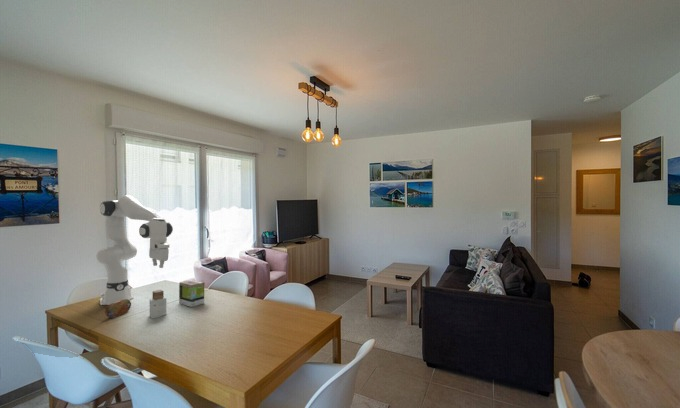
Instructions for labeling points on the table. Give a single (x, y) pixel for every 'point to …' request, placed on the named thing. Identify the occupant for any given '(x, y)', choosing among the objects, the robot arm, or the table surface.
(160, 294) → the walnut cube
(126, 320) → the table surface
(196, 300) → the tea box
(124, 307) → the tin
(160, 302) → the small box
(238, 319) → the table surface
